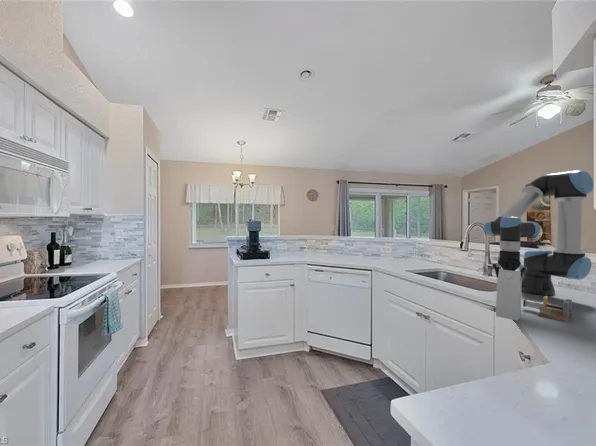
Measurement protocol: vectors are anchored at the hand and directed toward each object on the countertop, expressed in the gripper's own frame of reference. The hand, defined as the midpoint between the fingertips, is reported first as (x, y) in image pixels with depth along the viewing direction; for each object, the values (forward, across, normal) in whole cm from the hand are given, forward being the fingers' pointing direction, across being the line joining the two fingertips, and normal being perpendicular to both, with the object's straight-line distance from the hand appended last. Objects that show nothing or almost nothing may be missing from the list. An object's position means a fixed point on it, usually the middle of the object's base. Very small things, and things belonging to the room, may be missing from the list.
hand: (508, 301), depth 128 cm
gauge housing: (+2, +16, 0) cm, 16 cm away
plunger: (+1, +10, 0) cm, 10 cm away
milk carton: (+2, +5, -18) cm, 19 cm away
